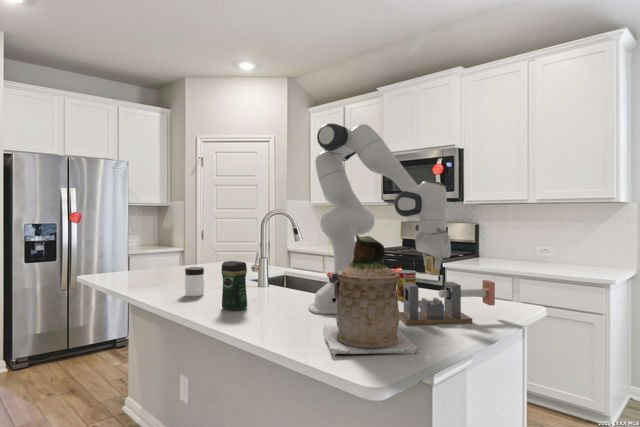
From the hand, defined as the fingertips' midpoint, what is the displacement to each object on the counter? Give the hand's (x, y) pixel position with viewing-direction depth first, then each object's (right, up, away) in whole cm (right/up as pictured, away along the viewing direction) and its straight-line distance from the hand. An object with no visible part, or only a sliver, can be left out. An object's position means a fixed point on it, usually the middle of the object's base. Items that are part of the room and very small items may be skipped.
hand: (432, 267), depth 154 cm
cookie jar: (-25, -19, -23) cm, 39 cm away
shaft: (+13, -13, +3) cm, 18 cm away
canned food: (-2, -18, +34) cm, 39 cm away
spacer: (0, -2, 0) cm, 2 cm away
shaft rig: (0, -18, +2) cm, 18 cm away
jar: (-95, -18, +46) cm, 107 cm away
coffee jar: (-72, -19, +20) cm, 77 cm away
